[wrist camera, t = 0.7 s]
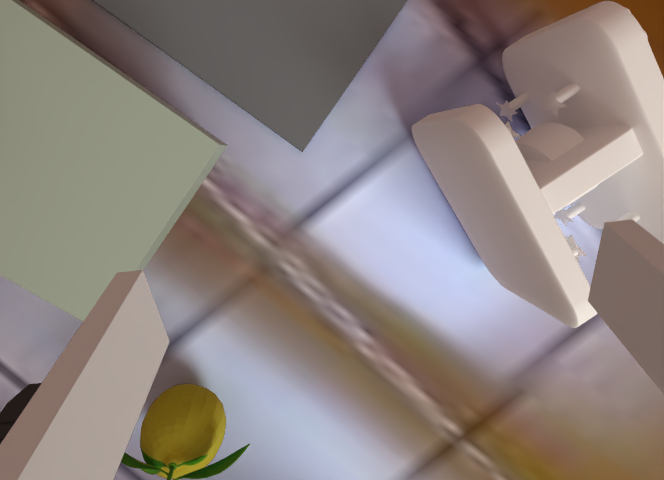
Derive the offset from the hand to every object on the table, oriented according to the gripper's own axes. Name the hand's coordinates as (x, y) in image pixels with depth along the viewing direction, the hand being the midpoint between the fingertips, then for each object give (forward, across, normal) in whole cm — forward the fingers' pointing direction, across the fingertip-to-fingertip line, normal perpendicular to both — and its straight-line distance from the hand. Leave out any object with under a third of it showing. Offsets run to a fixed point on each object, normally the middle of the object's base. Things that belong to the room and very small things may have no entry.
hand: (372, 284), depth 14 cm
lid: (+14, +16, -2) cm, 22 cm away
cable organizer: (+22, -12, +6) cm, 26 cm away
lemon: (+14, +14, +19) cm, 27 cm away
